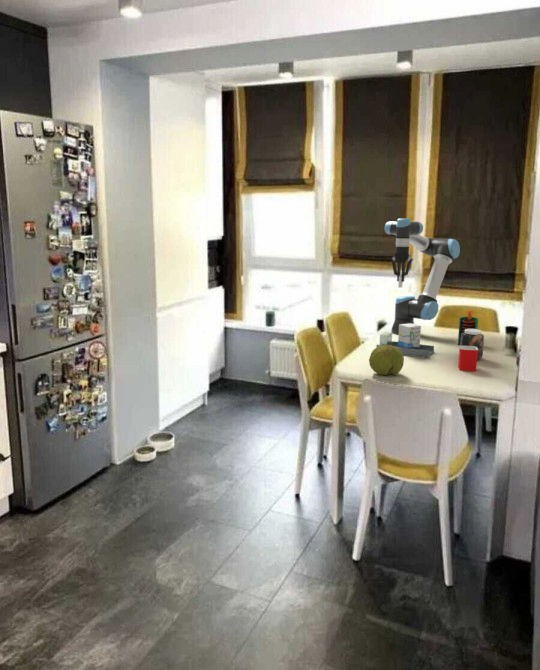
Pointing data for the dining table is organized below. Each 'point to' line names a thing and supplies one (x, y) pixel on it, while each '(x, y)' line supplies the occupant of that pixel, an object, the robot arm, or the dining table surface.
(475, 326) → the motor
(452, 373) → the dining table surface
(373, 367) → the fruit
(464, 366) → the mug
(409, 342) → the ink box
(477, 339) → the jar
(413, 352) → the rail cradle
